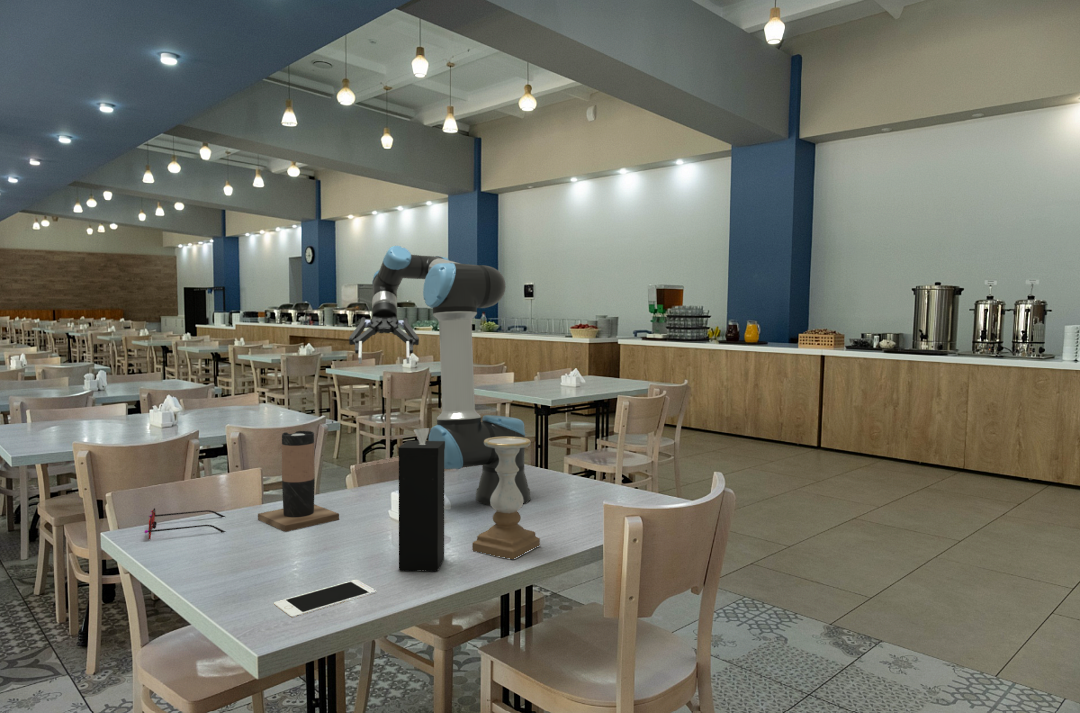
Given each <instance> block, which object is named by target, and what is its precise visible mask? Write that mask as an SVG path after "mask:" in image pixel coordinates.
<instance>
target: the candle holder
mask: <svg viewBox="0 0 1080 713" xmlns="http://www.w3.org/2000/svg"><path fill="white" fill-rule="evenodd" d="M484 445H485V446H487V447H491V448H495V452H496V453H497V455H498V456H499V463H498V465H497V467H496V468H495V471H496V472H497V474H498V476H499V483H498V485H497V487H496V489H495V490H494V492H493V493H492V495H491V498H490V504H491V505H490V506H491V508H492V509H493V510H495V512H494V513H493V516H492V521H493V522H494V524H493V525H492V526H490V527H489V529H488V530H485V531H483V532H481V533H479V534H478V535H477V536H476V540H475V541H473V542H472V548H471V550H473V552H475V551H477V552H476V553H478V552H482V553H481V554H483V553H486V554H485V555H487V554H491V555H495V556H494V557H496V556H500V557H505V558H510V559H514V558H516V557H518V556H520V555H522V554H524V553H525V552H527V551H529V550H531V549H533V548H535V547H537V546H539V545H540V546H541V542H540V541H541V540H540V539H541V538H540V537H538V536H536V532H535V531H534V530H530V529H527V528H526V529H525V528H524V527H523V526H522V525H520V524H519V522H521V514H520V512H519V510H520V509H521V508H522V506H524V504H523V502H524V500H523V496H522V494H521V492H520V490H519V489H518V487H517V485H516V483H515V476H516V474H517V472H518V471H519V468H518V467H517V465H516V463H515V458H516V455H517V454H518V452H519V450H520V448H524V447H525V448H527V447H529V446H530V445H531V440H530V438H526V437H525V438H523V437H511V436H503V437H492V438H487V439H485V440H484ZM525 448H524V449H525ZM491 555H490V556H491ZM500 557H499V558H500Z"/></svg>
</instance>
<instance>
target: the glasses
mask: <svg viewBox="0 0 1080 713" xmlns="http://www.w3.org/2000/svg"><path fill="white" fill-rule="evenodd" d="M206 512H207V513H212V514H215V515H217V516H219V517H220V518H222V517H225V518H226V515H223V514H220V513H218V512H217V511H215V510H210V509H209V510H208V509H207V510H196V511H195V510H194V511H184V512H175V513H164V514H163V513H162V514H156V508H153V509H152V510H150V513H151V514H150V515H149V516H148V518H149V519H148V529H145V530H144V533H145V534H148V539H150V540H151V537H152V533H155V532H165V531H173V530H183V529H193V528H202V527H209V528H212V529H215V530H216V531H218V532H221V533H222V532H226V531H225V530H223V529H221V528H219V527H217V526H215V525H212V524H200V525H192V526H191V525H190V526H181V527H171V528H161V529H156V528H157V524H158V523H157V521H156V520H155V519H156V518H157V517H166V516H177V515H183V514H184V515H185V514H186V515H187V514H196V513H206Z"/></svg>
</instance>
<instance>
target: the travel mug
mask: <svg viewBox="0 0 1080 713" xmlns="http://www.w3.org/2000/svg"><path fill="white" fill-rule="evenodd" d="M315 464H316V463H315V433H314V431H311V430H297V431H295V432H294V433H289V432H283V433H281V486H282V488H281V489H282V490H281V491H282V509H283V513H284V516H286V517H304V516H308V515H311V514H313V513H314V504H315V486H316V484H315V483H316V482H315V480H316V479H315V478H316V474H315V472H316V468H315Z"/></svg>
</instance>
